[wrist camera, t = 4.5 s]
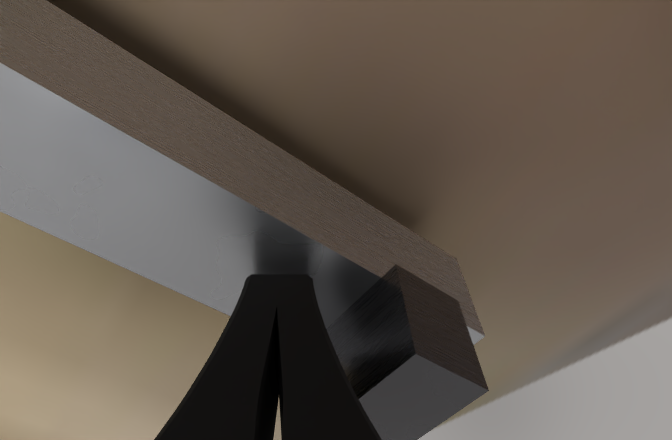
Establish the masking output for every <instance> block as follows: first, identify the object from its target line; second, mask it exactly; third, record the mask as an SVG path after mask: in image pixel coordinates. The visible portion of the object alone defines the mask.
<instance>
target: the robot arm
mask: <svg viewBox="0 0 672 440" xmlns="http://www.w3.org/2000/svg"><path fill="white" fill-rule="evenodd" d="M278 398H279V400H280V418H281V435H282V440H382V439H381V438H380V436H379V434H378V432H377V431H376V429H375V427H374V426H373V424H372V422H371V421H370V419H369V417H368V416H367V414H366V412H365V410H364V408H363V407H362V405H361V403H360V401H359V399H358V397H357V395H356V394H355V392H354V390H353V388H352V386H351V384H350V382H349V380H348V378H347V376H346V374H345V371H344V369H343V367H342V365H341V363H340V361H339V358H338V356H337V354H336V351H335V349H334V347H333V344H332V342H331V340H330V337H329V335H328V332H327V329H326V327H325V324H324V321H323V318H322V315H321V312H320V309H319V306H318V302H317V299H316V295H315V290H314V285H313V278H311V277H310V276H309V275H308V274H251V275H250V276H248V277H247V278H246V280H245V283H244V286H243V289H242V292H241V294H240V297H239V299H238V302H237V304H236V306H235V309H234V311H233V313H232V315H231V317H230V319H229V321H228V323H227V325H226V327H225V329H224V331H223V333H222V335H221V337H220V338H219V340H218V342H217V344H216V346H215V348H214V350H213V351H212V353H211V355H210V357H209V358H208V360H207V362H206V363H205V365H204V367H203V368H202V370H201V372H200V373H199V375H198V376H197V378H196V380H195V381H194V383H193V384H192V386H191V388H190V389H189V391H188V392H187V394H186V395H185V397H184V398H183V400H182V401H181V403H180V404H179V406H178V407H177V409H176V410H175V412H174V413H173V415H172V416H171V417H170V419H169V420H168V422H167V423H166V424H165V426H164V427H163V428H162V430H161V431H160V432H159V434H158V435H157V437H156V438H155V439H154V440H273V437H274V429H275V421H276V414H277V406H278Z"/></svg>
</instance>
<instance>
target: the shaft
mask: <svg viewBox="0 0 672 440" xmlns="http://www.w3.org/2000/svg"><path fill="white" fill-rule="evenodd" d="M0 212H3V213H5V214H7V215H9V216H11V217H14V218H16V219H18V220H20V221H22V222H25V223H27V224H29V225H31V226H33V227H36V228H38V229H40V230H42V231H44V232H47V233H49V234H51V235H53V236H55V237H58V238H60V239H62V240H64V241H66V242H69V243H71V244H73V245H75V246H77V247H80V248H82V249H84V250H86V251H88V252H91V253H93V254H95V255H97V256H99V257H102V258H104V259H106V260H108V261H110V262H113V263H115V264H117V265H119V266H121V267H124V268H126V269H128V270H130V271H132V272H135V273H137V274H139V275H141V276H143V277H146V278H148V279H150V280H152V281H154V282H157V283H159V284H161V285H163V286H165V287H168V288H170V289H172V290H174V291H176V292H179V293H181V294H183V295H185V296H187V297H190V298H192V299H194V300H196V301H198V302H201V303H203V304H205V305H207V306H209V307H212V308H214V309H216V310H218V311H220V312H223V313H225V314H227V315H229V316H231V315H232V313H233V311H234V309H235V306H236V304H237V302H238V299H239V297H240V294H241V292H242V289H243V286H244V283H245V280H246V278H247V277H248V276H250V275H251V274H308V275H309V276H310V277H311V278H313V285H314V290H315V295H316V299H317V302H318V306H319V309H320V312H321V315H322V318H323V321H324V324H325V327H326V329H327V332H328V335H329V337H330V340H331V342H332V344H333V347H334V349H335V351H336V354H337V356H338V358H339V361H340V363H341V365H342V367H343V369H344V371H345V374H346V376H347V378H348V380H349V382H350V384H351V386H352V388H353V390H354V392H355V394H356V395H357V397H358V399H359V401H360V403H361V405H362V407H363V408H364V410H365V412H366V414H367V416H368V417H369V419H370V421H371V422H372V424H373V426H374V427H375V429H376V431H377V432H378V434H379V436H380V438H381V439H382V440H417V439H419V438H420V437H422V436H423V435H425V434H426V433H428V432H429V431H430V430H432V429H433V428H435V427H436V426H438V425H439V424H441V423H442V422H444V421H445V420H447V419H448V418H449V417H451V416H452V415H454V414H455V413H457V412H458V411H460V410H461V409H463V408H464V407H466V406H467V405H468V404H470V403H471V402H473V401H474V400H476V399H477V398H479V397H480V396H482V395H483V394H484V393H486V392H487V391H489V390H488V387H487V384H486V381H485V378H484V375H483V372H482V369H481V366H480V363H479V361H478V358H477V355H476V352H475V349H474V346H473V345H474V344H475V343H477V342H478V341H479V340H481V339H482V338H483V337H485V335H484V332H483V329H482V327H481V324H480V321H479V318H478V316H477V313H476V310H475V308H474V305H473V302H472V299H471V297H470V294H469V291H468V289H467V286H466V283H465V280H464V278H463V275H462V272H461V270H460V267H459V264H458V261H457V259H456V258H454V257H452V256H451V255H449V254H448V253H446V252H445V251H443V250H441V249H440V248H438V247H437V246H435V245H433V244H432V243H430V242H429V241H427V240H426V239H424V238H422V237H421V236H419V235H418V234H416V233H414V232H413V231H411V230H410V229H408V228H407V227H405V226H403V225H402V224H400V223H399V222H397V221H395V220H394V219H392V218H391V217H389V216H387V215H386V214H384V213H383V212H381V211H380V210H378V209H376V208H375V207H373V206H372V205H370V204H368V203H367V202H365V201H364V200H362V199H361V198H359V197H357V196H356V195H354V194H353V193H351V192H349V191H348V190H346V189H345V188H343V187H342V186H340V185H338V184H337V183H335V182H334V181H332V180H330V179H329V178H327V177H326V176H324V175H323V174H321V173H319V172H318V171H316V170H315V169H313V168H311V167H310V166H308V165H307V164H305V163H304V162H302V161H300V160H299V159H297V158H296V157H294V156H292V155H291V154H289V153H288V152H286V151H285V150H283V149H281V148H280V147H278V146H277V145H275V144H273V143H272V142H270V141H269V140H267V139H266V138H264V137H262V136H261V135H259V134H258V133H256V132H254V131H253V130H251V129H250V128H248V127H247V126H245V125H243V124H242V123H240V122H239V121H237V120H235V119H234V118H232V117H231V116H229V115H228V114H226V113H224V112H223V111H221V110H220V109H218V108H216V107H215V106H213V105H212V104H210V103H209V102H207V101H205V100H204V99H202V98H201V97H199V96H197V95H196V94H194V93H193V92H191V91H190V90H188V89H186V88H185V87H183V86H182V85H180V84H178V83H177V82H175V81H174V80H172V79H171V78H169V77H167V76H166V75H164V74H163V73H161V72H159V71H158V70H156V69H155V68H153V67H152V66H150V65H148V64H147V63H145V62H144V61H142V60H140V59H139V58H137V57H136V56H134V55H133V54H131V53H129V52H128V51H126V50H125V49H123V48H121V47H120V46H118V45H117V44H115V43H114V42H112V41H110V40H109V39H107V38H106V37H104V36H102V35H101V34H99V33H98V32H96V31H95V30H93V29H91V28H90V27H88V26H87V25H85V24H83V23H82V22H80V21H79V20H77V19H75V18H74V17H72V16H71V15H69V14H68V13H66V12H64V11H63V10H61V9H60V8H58V7H56V6H55V5H53V4H52V3H50V2H49V1H47V0H0Z"/></svg>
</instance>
